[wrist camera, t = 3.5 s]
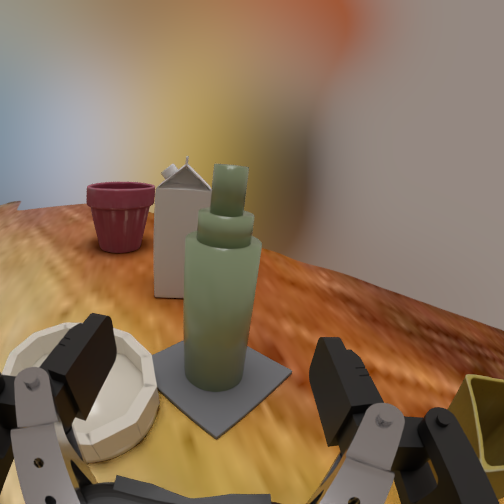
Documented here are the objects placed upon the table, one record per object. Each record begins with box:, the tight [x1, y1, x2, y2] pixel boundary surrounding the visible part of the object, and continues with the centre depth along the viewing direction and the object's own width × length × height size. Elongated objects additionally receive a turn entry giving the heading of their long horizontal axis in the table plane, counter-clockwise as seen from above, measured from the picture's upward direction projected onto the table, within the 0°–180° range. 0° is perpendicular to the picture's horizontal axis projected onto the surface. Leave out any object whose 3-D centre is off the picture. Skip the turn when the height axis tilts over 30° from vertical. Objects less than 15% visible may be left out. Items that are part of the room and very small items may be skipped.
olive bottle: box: [183, 164, 262, 392], centre depth 21 cm, size 6×6×18 cm
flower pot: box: [428, 375, 504, 499], centre depth 9 cm, size 9×9×9 cm
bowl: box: [2, 323, 160, 463], centre depth 18 cm, size 14×14×3 cm
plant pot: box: [87, 182, 155, 253], centre depth 51 cm, size 14×14×13 cm
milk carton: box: [154, 156, 212, 298], centre depth 37 cm, size 7×7×19 cm
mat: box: [152, 340, 292, 439], centre depth 25 cm, size 11×11×1 cm
